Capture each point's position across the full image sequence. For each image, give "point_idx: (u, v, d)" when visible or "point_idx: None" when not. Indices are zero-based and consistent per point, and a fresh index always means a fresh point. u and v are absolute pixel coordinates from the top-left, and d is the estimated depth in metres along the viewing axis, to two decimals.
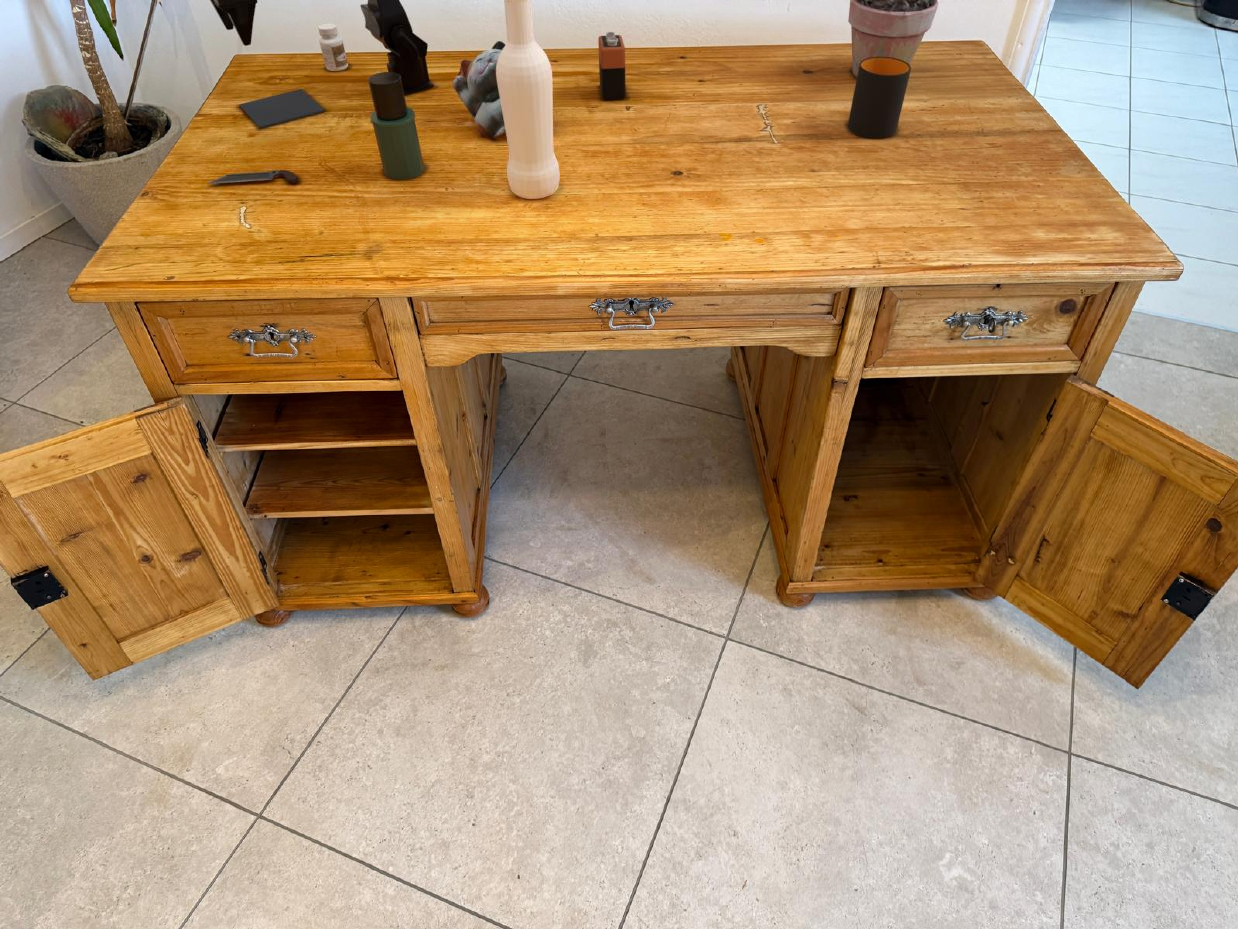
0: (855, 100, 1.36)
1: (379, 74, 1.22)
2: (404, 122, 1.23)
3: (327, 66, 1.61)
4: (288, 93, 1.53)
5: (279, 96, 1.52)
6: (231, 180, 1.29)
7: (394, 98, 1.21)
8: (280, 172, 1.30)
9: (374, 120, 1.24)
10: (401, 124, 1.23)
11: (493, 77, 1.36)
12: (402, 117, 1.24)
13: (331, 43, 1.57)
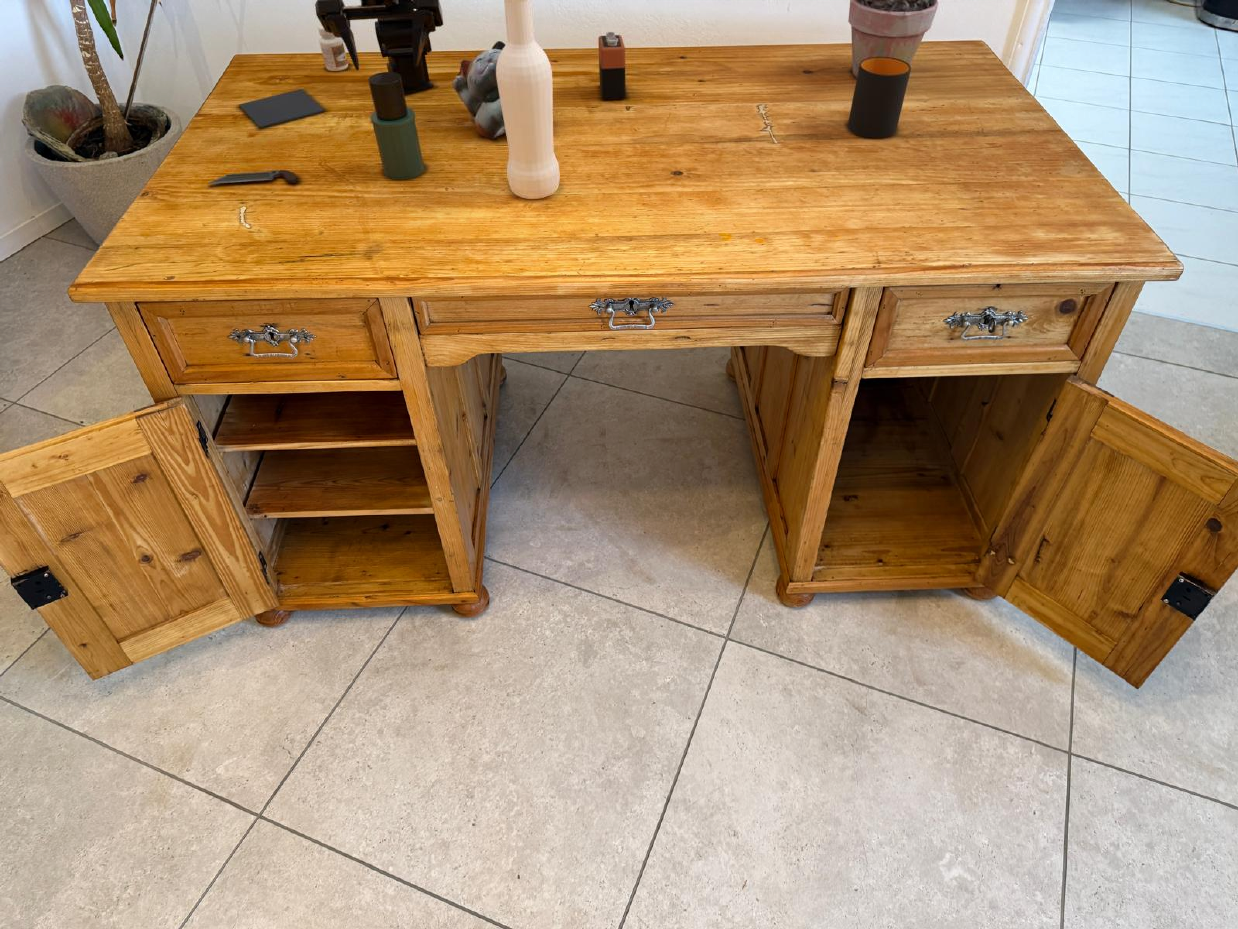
0: (855, 100, 1.36)
1: (379, 74, 1.22)
2: (404, 122, 1.23)
3: (327, 66, 1.61)
4: (288, 93, 1.53)
5: (279, 96, 1.52)
6: (231, 180, 1.29)
7: (394, 98, 1.21)
8: (280, 172, 1.30)
9: (374, 120, 1.24)
10: (401, 124, 1.23)
11: (493, 77, 1.36)
12: (402, 117, 1.24)
13: (331, 43, 1.57)
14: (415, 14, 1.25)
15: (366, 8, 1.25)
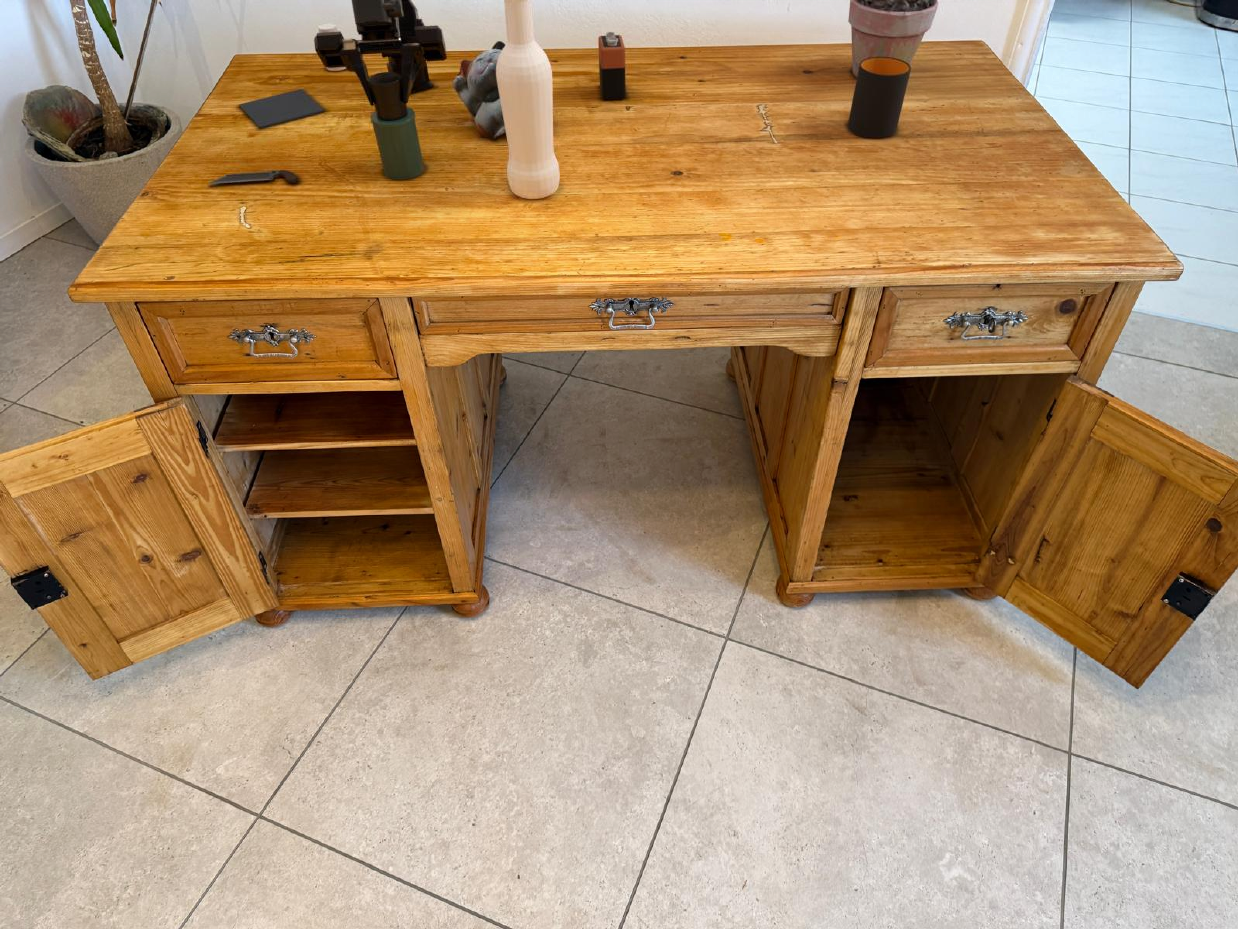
0: (855, 100, 1.36)
1: (379, 74, 1.22)
2: (404, 122, 1.23)
3: None
4: (288, 93, 1.53)
5: (279, 96, 1.52)
6: (231, 180, 1.29)
7: (394, 98, 1.21)
8: (280, 172, 1.30)
9: (374, 120, 1.24)
10: (401, 124, 1.23)
11: (493, 77, 1.36)
12: (402, 117, 1.24)
13: None
14: (404, 50, 1.20)
15: (381, 42, 1.21)
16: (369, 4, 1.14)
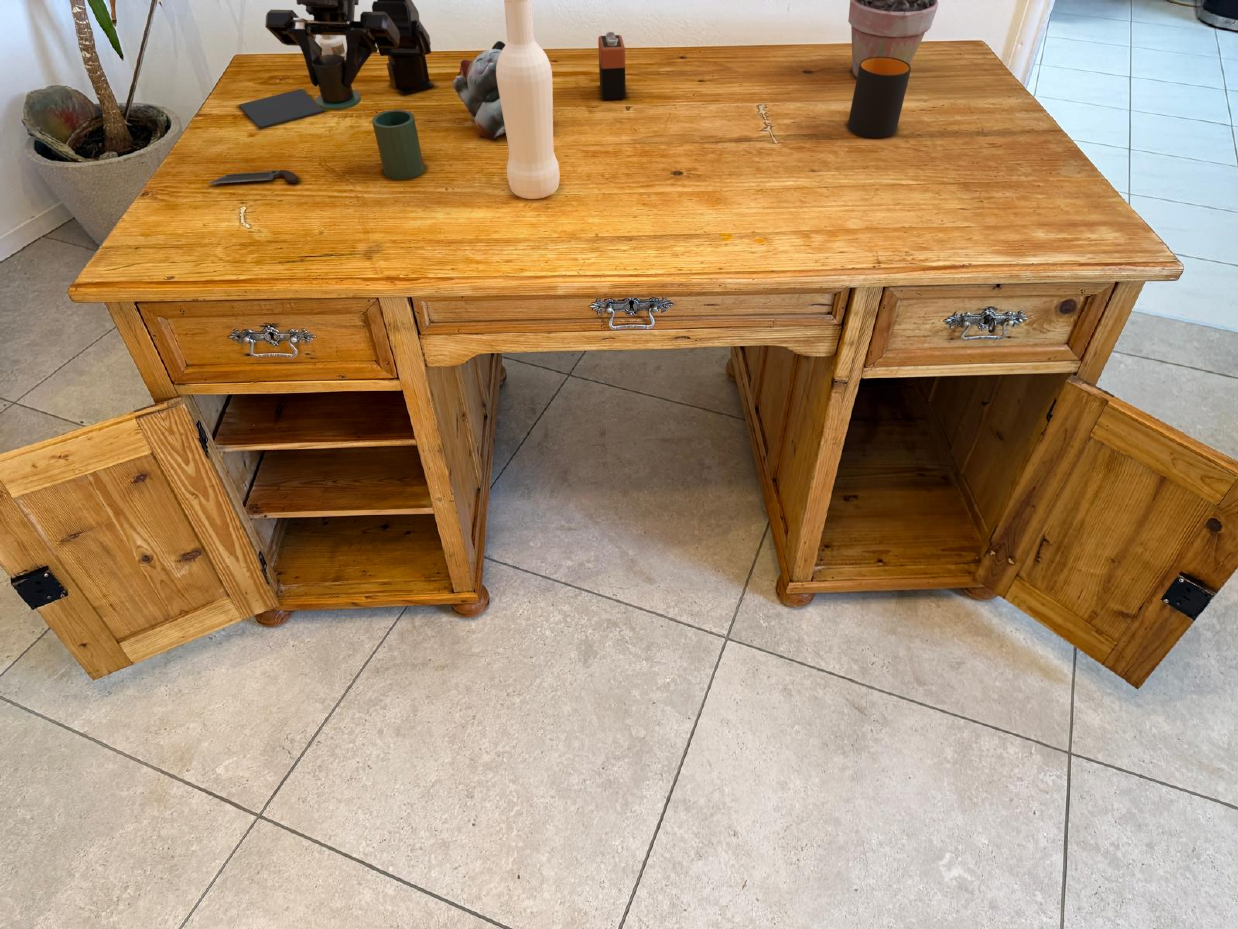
0: (855, 100, 1.36)
1: (326, 56, 1.22)
2: (344, 106, 1.23)
3: None
4: (288, 93, 1.53)
5: (279, 96, 1.52)
6: (231, 180, 1.29)
7: (334, 81, 1.21)
8: (280, 172, 1.30)
9: (317, 101, 1.24)
10: (341, 108, 1.23)
11: (493, 77, 1.36)
12: (344, 101, 1.23)
13: (331, 43, 1.57)
14: (348, 34, 1.19)
15: (330, 24, 1.20)
16: None
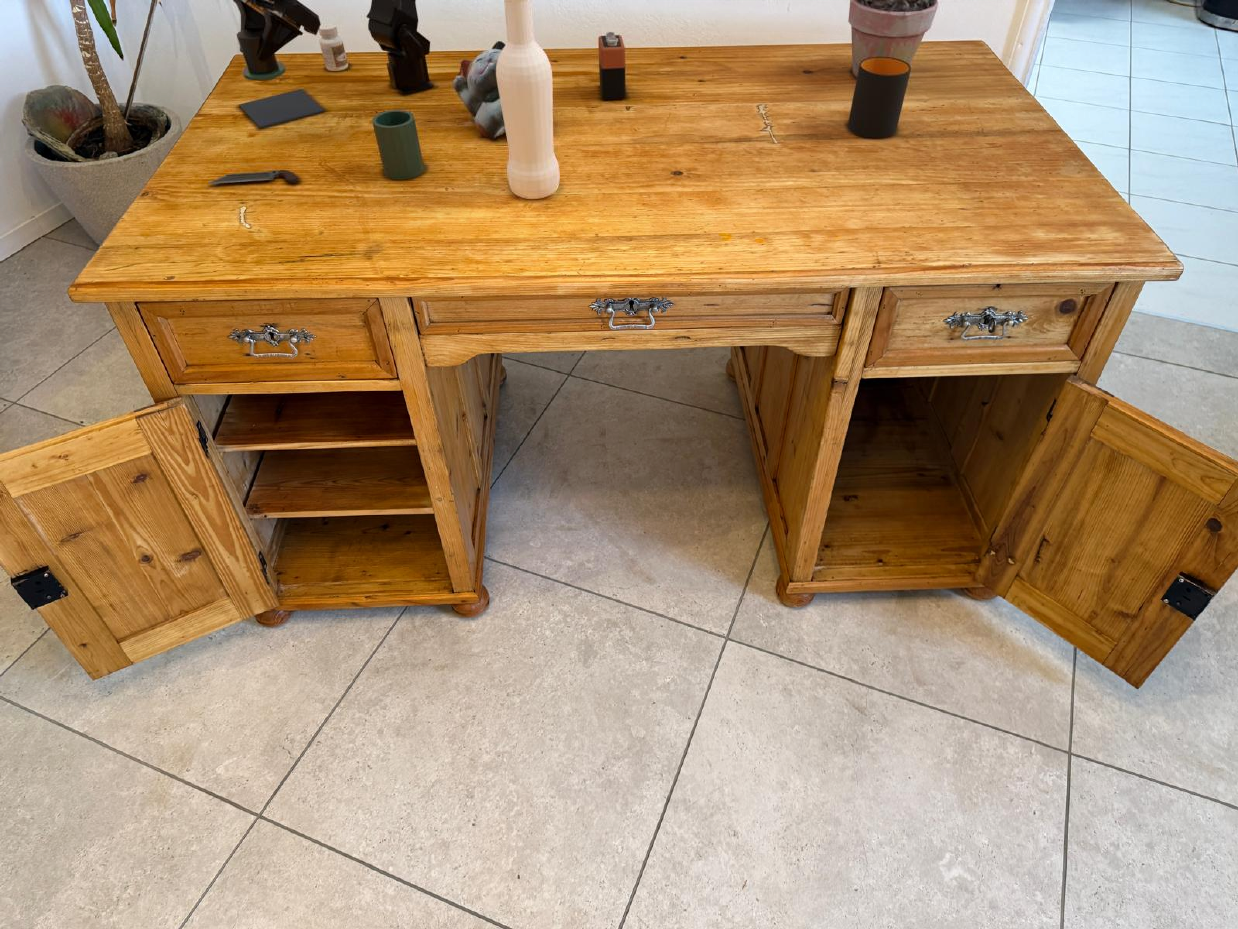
0: (855, 100, 1.36)
1: (257, 29, 1.30)
2: (255, 78, 1.30)
3: (327, 66, 1.61)
4: (288, 93, 1.53)
5: (279, 96, 1.52)
6: (231, 180, 1.29)
7: (249, 53, 1.29)
8: (280, 172, 1.30)
9: (245, 68, 1.33)
10: (252, 78, 1.31)
11: (493, 77, 1.36)
12: (259, 73, 1.31)
13: (331, 43, 1.57)
14: (264, 13, 1.25)
15: (264, 0, 1.28)
16: None
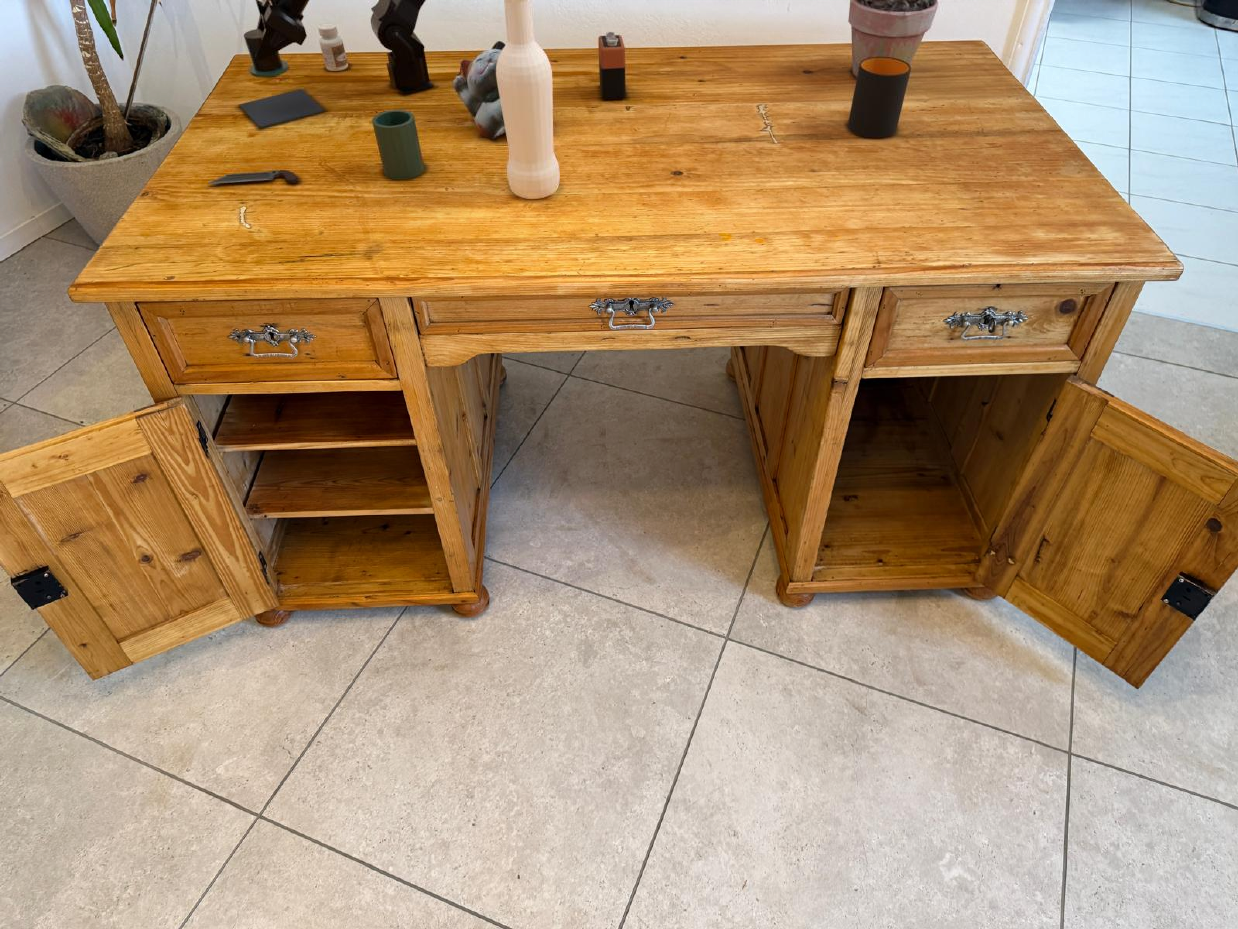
0: (855, 100, 1.36)
1: None
2: (253, 74, 1.42)
3: (327, 66, 1.61)
4: (288, 93, 1.53)
5: (279, 96, 1.52)
6: (231, 180, 1.29)
7: (250, 51, 1.40)
8: (280, 172, 1.30)
9: None
10: (252, 74, 1.42)
11: (493, 77, 1.36)
12: (259, 70, 1.42)
13: (331, 43, 1.57)
14: (261, 18, 1.35)
15: None
16: None
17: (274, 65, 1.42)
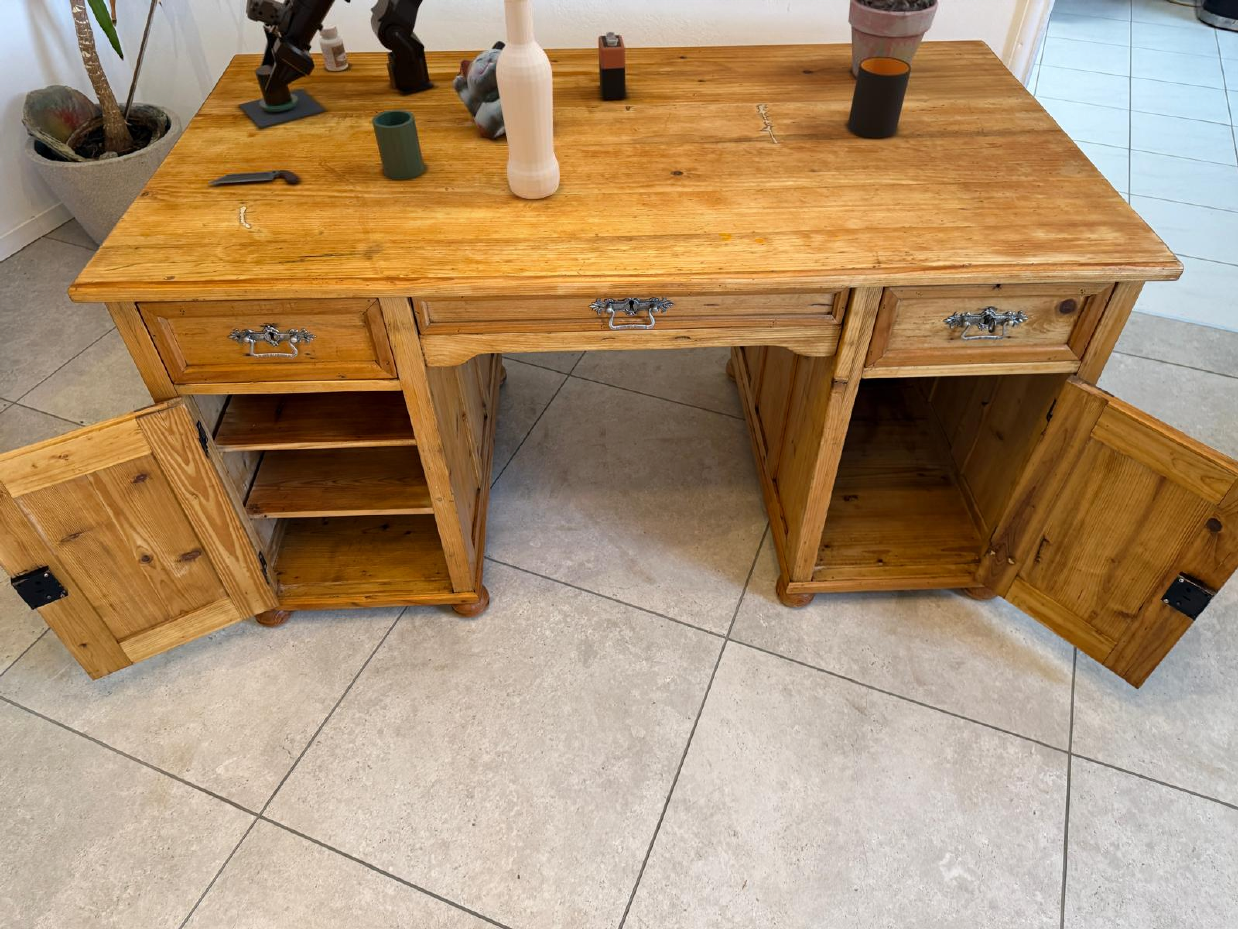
0: (855, 100, 1.36)
1: None
2: (264, 108, 1.46)
3: (327, 66, 1.61)
4: None
5: None
6: (231, 180, 1.29)
7: (261, 86, 1.44)
8: (280, 172, 1.30)
9: None
10: (262, 108, 1.46)
11: (493, 77, 1.36)
12: (269, 104, 1.46)
13: (331, 43, 1.57)
14: (272, 52, 1.37)
15: (279, 33, 1.42)
16: (248, 0, 1.36)
17: (284, 99, 1.46)
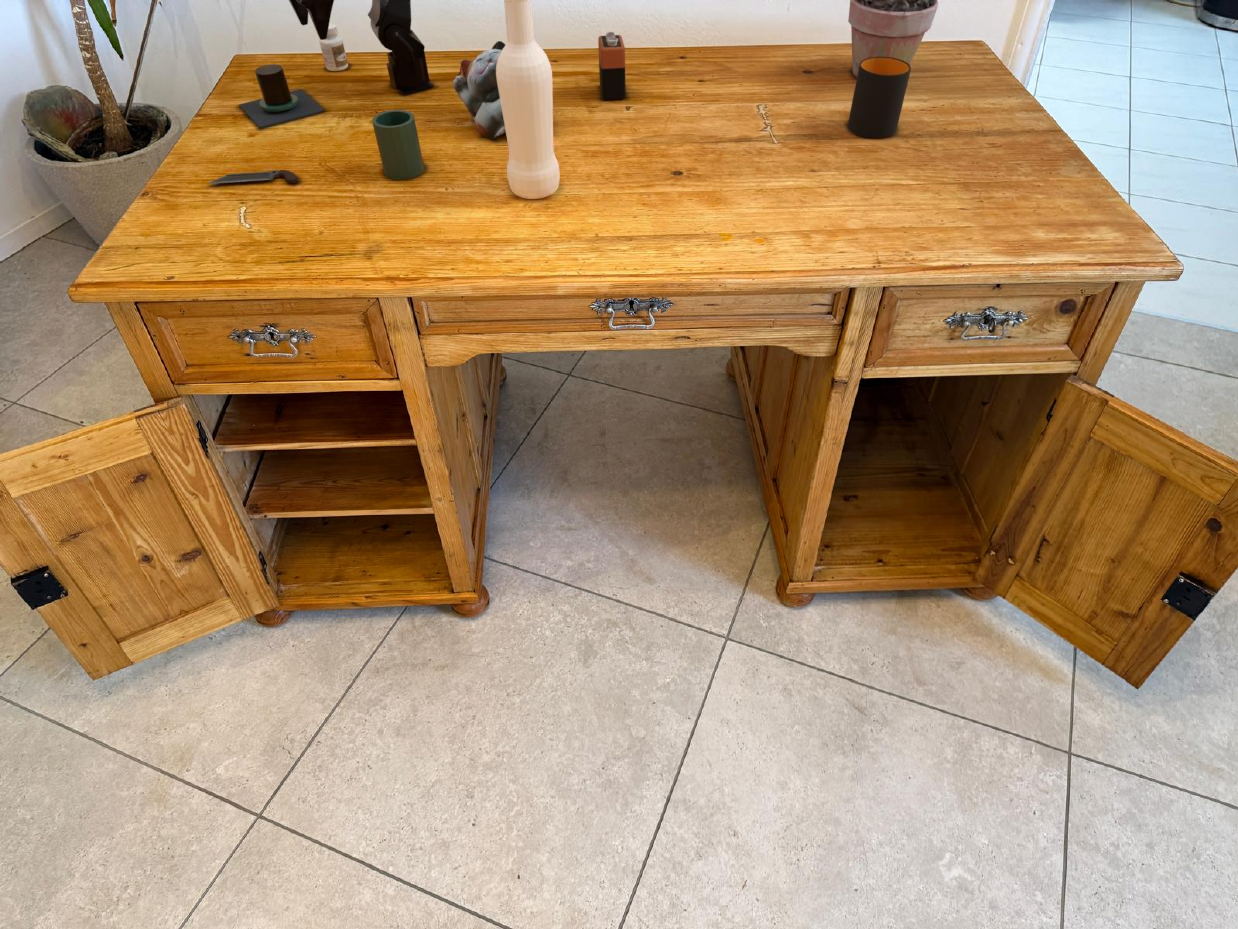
0: (855, 100, 1.36)
1: (276, 66, 1.45)
2: (264, 108, 1.46)
3: (327, 66, 1.61)
4: None
5: None
6: (231, 180, 1.29)
7: (261, 86, 1.44)
8: (280, 172, 1.30)
9: None
10: (262, 108, 1.46)
11: (493, 77, 1.36)
12: (269, 104, 1.46)
13: (331, 43, 1.57)
14: None
15: None
16: None
17: (284, 99, 1.46)
